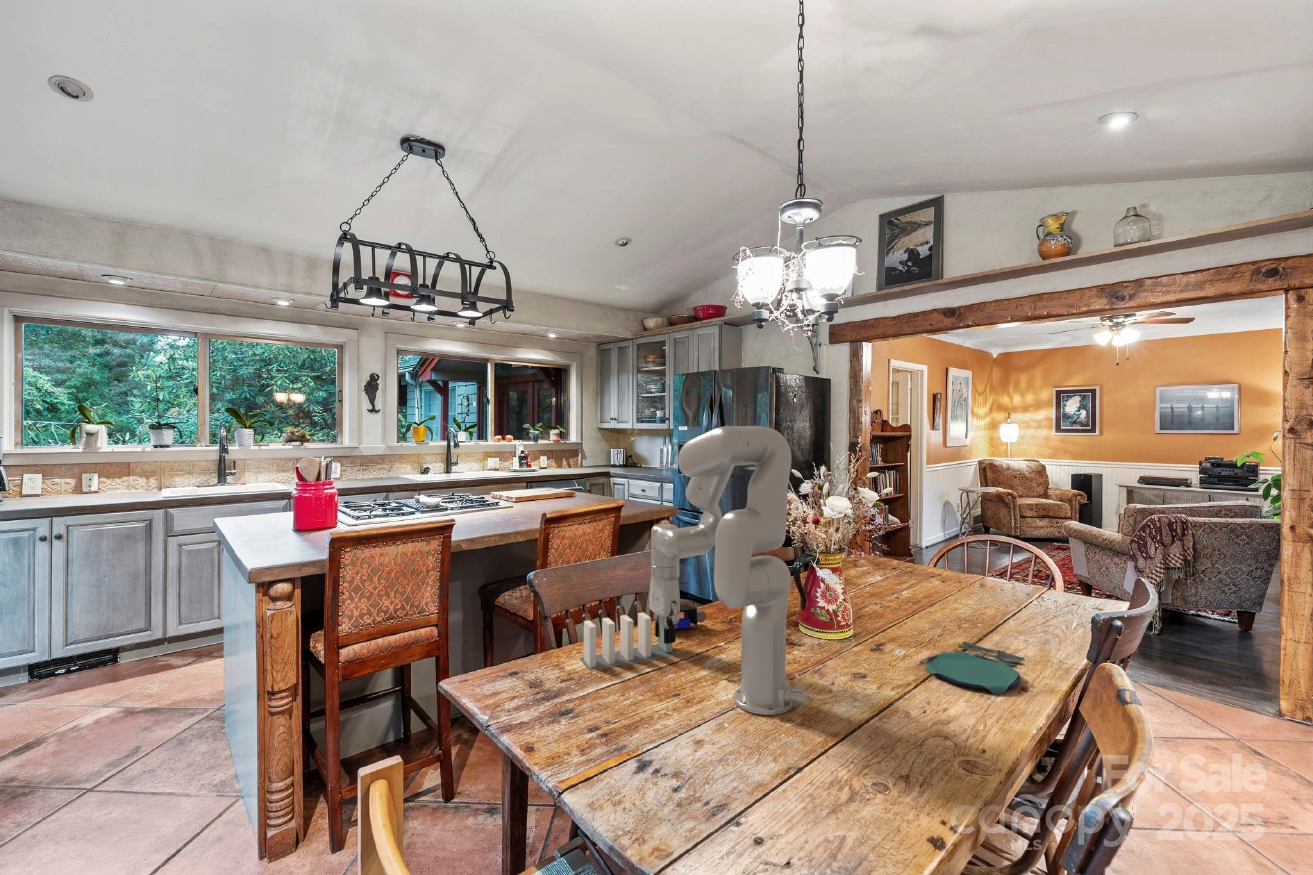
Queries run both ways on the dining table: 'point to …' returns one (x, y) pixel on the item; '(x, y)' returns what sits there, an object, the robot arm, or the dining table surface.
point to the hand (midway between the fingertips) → (665, 638)
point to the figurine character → (690, 617)
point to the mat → (637, 657)
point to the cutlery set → (977, 668)
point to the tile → (661, 635)
